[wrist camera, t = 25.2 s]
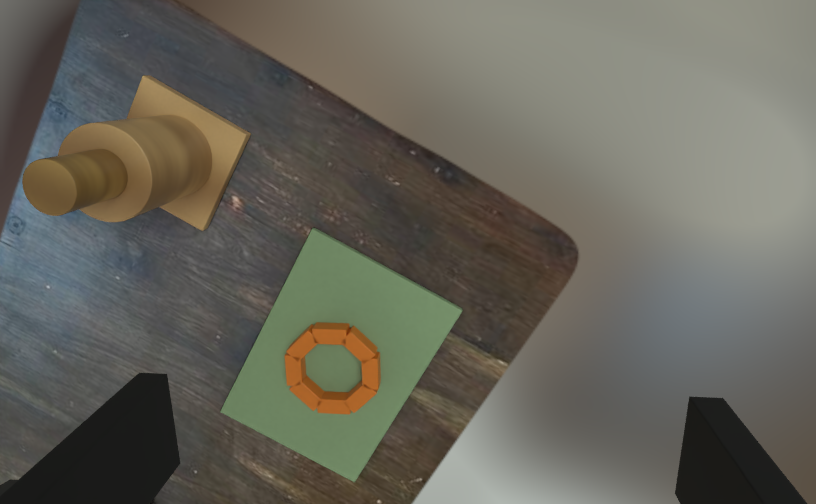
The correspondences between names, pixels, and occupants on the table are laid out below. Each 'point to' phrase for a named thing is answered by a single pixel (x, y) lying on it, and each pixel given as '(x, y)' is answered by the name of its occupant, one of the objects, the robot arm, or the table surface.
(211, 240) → the table surface
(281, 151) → the table surface
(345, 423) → the mat
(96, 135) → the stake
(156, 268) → the table surface
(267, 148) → the table surface
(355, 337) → the ring
